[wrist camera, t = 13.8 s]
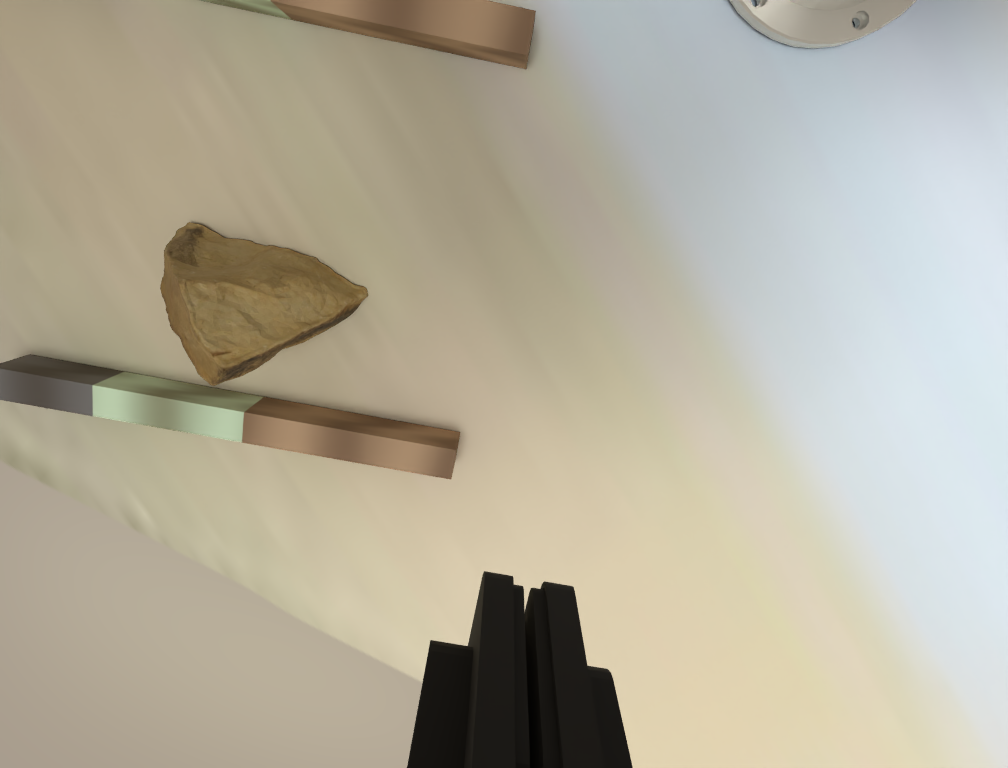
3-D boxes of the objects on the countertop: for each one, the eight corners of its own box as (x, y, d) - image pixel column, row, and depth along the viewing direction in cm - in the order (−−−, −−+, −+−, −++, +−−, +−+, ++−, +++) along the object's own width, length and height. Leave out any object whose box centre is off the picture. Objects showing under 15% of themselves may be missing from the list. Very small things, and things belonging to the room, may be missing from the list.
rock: (107, 269, 33) (213, 411, 34) (73, 199, 26) (210, 383, 27) (274, 195, 38) (363, 321, 39) (287, 118, 31) (396, 276, 32)
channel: (533, 28, 32) (535, 11, 29) (455, 459, 39) (451, 479, 36) (8, -84, 30) (-44, -114, 28) (31, 383, 38) (-9, 398, 35)
